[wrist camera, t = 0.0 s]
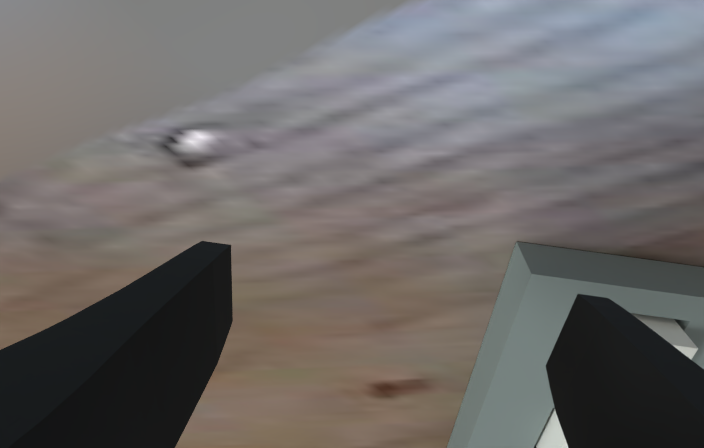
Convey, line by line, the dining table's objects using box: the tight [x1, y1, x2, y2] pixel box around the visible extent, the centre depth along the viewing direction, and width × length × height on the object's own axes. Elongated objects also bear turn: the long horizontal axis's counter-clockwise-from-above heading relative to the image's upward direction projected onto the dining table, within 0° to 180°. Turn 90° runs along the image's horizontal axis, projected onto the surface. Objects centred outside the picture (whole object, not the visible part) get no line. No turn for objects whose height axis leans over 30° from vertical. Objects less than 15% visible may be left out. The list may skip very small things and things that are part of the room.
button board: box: [447, 242, 704, 448], centre depth 23 cm, size 18×10×2 cm, turn 174°
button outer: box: [631, 313, 698, 359], centre depth 19 cm, size 3×3×2 cm
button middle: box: [535, 408, 568, 448], centre depth 22 cm, size 3×3×2 cm
